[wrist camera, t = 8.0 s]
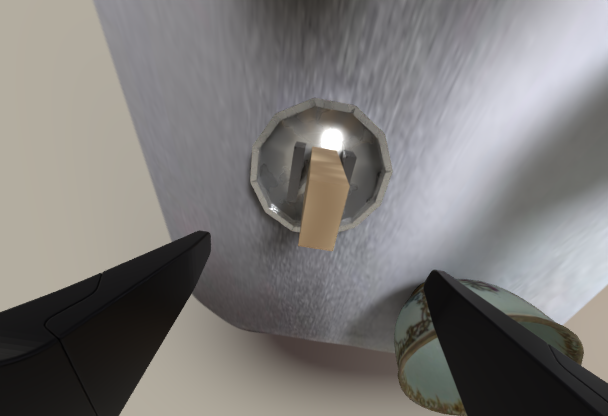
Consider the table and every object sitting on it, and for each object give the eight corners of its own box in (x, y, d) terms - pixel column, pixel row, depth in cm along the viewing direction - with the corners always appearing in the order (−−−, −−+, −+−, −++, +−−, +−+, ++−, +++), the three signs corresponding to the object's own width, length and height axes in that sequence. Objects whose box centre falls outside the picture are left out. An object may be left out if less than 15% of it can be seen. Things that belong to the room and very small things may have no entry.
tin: (404, 114, 17) (417, 117, 15) (363, 234, 22) (368, 249, 20) (261, 87, 17) (253, 86, 15) (252, 215, 22) (244, 228, 20)
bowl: (375, 338, 29) (394, 417, 22) (377, 253, 23) (403, 324, 16) (490, 334, 28) (550, 417, 21) (522, 243, 22) (621, 316, 15)
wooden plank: (336, 150, 18) (349, 186, 11) (327, 195, 20) (332, 251, 13) (312, 146, 18) (309, 179, 11) (304, 191, 20) (298, 245, 13)
